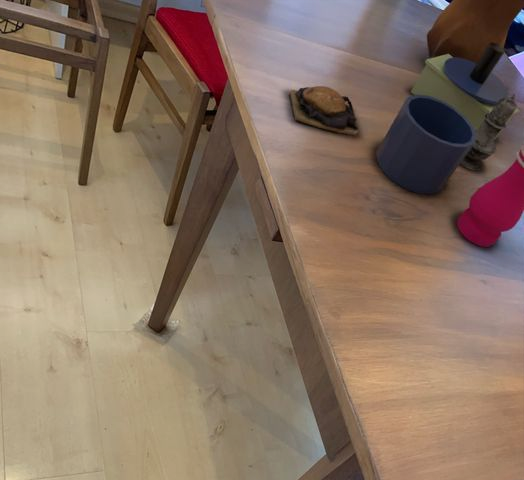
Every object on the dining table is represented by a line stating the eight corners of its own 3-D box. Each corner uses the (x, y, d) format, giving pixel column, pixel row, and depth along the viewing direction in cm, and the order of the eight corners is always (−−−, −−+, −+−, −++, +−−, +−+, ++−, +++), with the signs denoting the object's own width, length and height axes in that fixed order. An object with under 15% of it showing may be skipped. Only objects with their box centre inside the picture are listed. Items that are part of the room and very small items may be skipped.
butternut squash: (470, 65, 115) (557, -73, 96) (484, 101, 107) (582, -40, 88) (410, 43, 112) (488, -104, 92) (420, 79, 104) (507, -73, 84)
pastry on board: (293, 124, 82) (302, 101, 79) (287, 90, 87) (296, 68, 84) (358, 139, 85) (369, 118, 83) (349, 106, 90) (359, 85, 87)
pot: (455, 182, 87) (489, 136, 81) (417, 203, 81) (450, 154, 74) (403, 137, 90) (432, 89, 83) (362, 153, 83) (389, 102, 77)
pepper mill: (455, 206, 83) (550, 83, 68) (497, 227, 84) (601, 109, 68) (452, 236, 79) (552, 111, 63) (497, 257, 79) (608, 139, 64)
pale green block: (497, 139, 100) (519, 110, 95) (477, 149, 96) (500, 119, 91) (430, 84, 104) (448, 53, 99) (408, 91, 100) (426, 59, 95)
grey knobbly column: (481, 176, 91) (531, 112, 81) (449, 160, 91) (496, 93, 81) (484, 159, 94) (532, 95, 85) (453, 143, 94) (499, 77, 85)
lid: (515, 100, 97) (541, 64, 92) (483, 113, 90) (509, 75, 85) (463, 59, 100) (486, 22, 95) (428, 68, 93) (450, 29, 88)
